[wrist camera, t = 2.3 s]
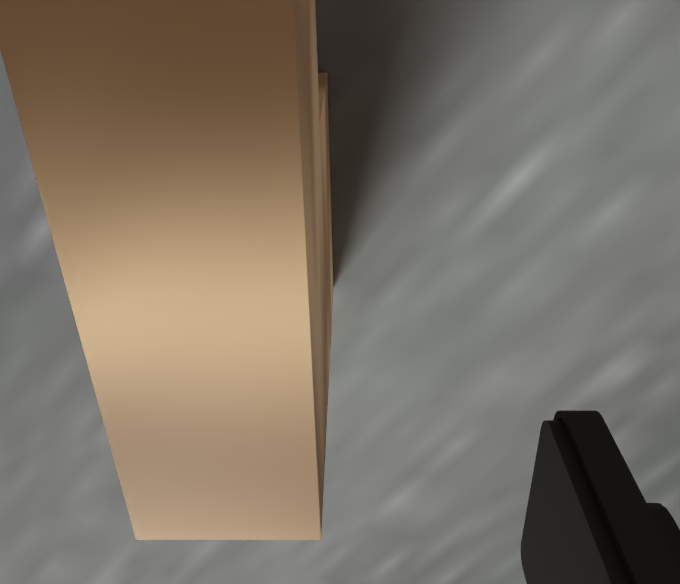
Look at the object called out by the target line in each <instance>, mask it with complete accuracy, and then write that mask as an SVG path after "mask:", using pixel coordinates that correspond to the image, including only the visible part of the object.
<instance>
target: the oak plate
mask: <svg viewBox="0 0 680 584" xmlns="http://www.w3.org/2000/svg"><path fill="white" fill-rule="evenodd" d="M0 50H1V53H2V57H3V61H4V64H5V68H6V72H7V75H8V79H9V82H10V86H11V90H12V93H13V97H14V100H15V104H16V108H17V111H18V115H19V118H20V122H21V126H22V129H23V133H24V137H25V140H26V144H27V147H28V151H29V155H30V158H31V162H32V165H33V169H34V173H35V176H36V180H37V184H38V187H39V191H40V194H41V198H42V202H43V205H44V209H45V212H46V216H47V220H48V223H49V227H50V230H51V234H52V238H53V241H54V245H55V249H56V252H57V256H58V259H59V263H60V267H61V270H62V274H63V277H64V281H65V285H66V288H67V292H68V296H69V299H70V303H71V306H72V310H73V314H74V317H75V321H76V324H77V328H78V332H79V335H80V339H81V342H82V346H83V350H84V353H85V357H86V361H87V364H88V368H89V371H90V375H91V379H92V382H93V386H94V389H95V393H96V397H97V400H98V404H99V408H100V411H101V415H102V418H103V422H104V426H105V429H106V433H107V436H108V440H109V444H110V447H111V451H112V454H113V458H114V462H115V465H116V469H117V473H118V476H119V480H120V483H121V487H122V491H123V494H124V498H125V501H126V505H127V509H128V512H129V516H130V520H131V523H132V527H133V530H134V534H135V538H136V540H321V528H322V507H323V487H324V467H325V447H326V426H327V406H328V386H329V366H330V346H331V325H332V305H333V258H332V222H331V186H330V150H329V113H328V77H327V73H318V64H317V36H316V7H315V0H0Z"/></svg>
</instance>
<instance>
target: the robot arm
mask: <svg viewBox="0 0 680 584" xmlns="http://www.w3.org/2000/svg"><path fill="white" fill-rule="evenodd" d="M521 560H522V566H523V571H524V575H525V578H526V582H527V584H680V530H679V528H678V526H677V524H676V522H675V521H674V519H673V517H672V516H671V514H670V513H669V511H668V510H667V509H666V508H665V507H664V506H662V505H661V504H660V503H646V501H645V499H644V497H643V496H642V494H641V492H640V490H639V488H638V486H637V484H636V482H635V480H634V478H633V476H632V474H631V472H630V470H629V468H628V466H627V464H626V462H625V460H624V458H623V456H622V454H621V452H620V451H619V449H618V447H617V445H616V443H615V441H614V439H613V437H612V435H611V433H610V431H609V429H608V427H607V425H606V423H605V421H604V419H603V417H602V416H601V414H600V413H599V412H597V411H557V412H556V414H555V416H554V420H553V421H544V422H543V423H542V426H541V431H540V437H539V443H538V449H537V454H536V460H535V466H534V472H533V477H532V483H531V489H530V495H529V500H528V506H527V512H526V518H525V524H524V529H523V535H522V541H521Z"/></svg>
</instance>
